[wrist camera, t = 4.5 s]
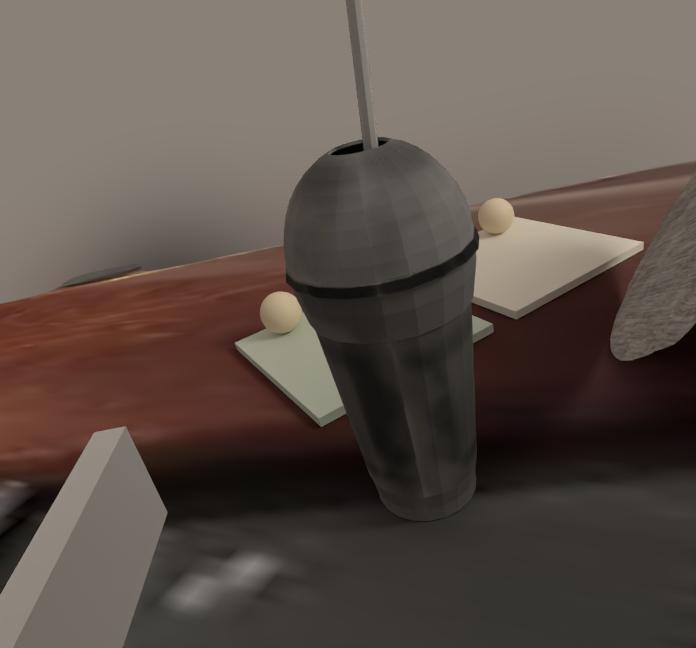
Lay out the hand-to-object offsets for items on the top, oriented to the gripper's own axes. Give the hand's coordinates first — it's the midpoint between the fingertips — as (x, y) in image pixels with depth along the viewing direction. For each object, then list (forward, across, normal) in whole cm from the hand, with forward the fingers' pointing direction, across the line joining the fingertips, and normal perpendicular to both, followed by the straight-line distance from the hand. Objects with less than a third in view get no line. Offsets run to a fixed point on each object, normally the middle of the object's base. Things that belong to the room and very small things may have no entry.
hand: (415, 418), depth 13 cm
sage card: (+24, -3, -11) cm, 27 cm away
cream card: (+32, +10, -11) cm, 35 cm away
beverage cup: (+10, 0, -11) cm, 15 cm away
